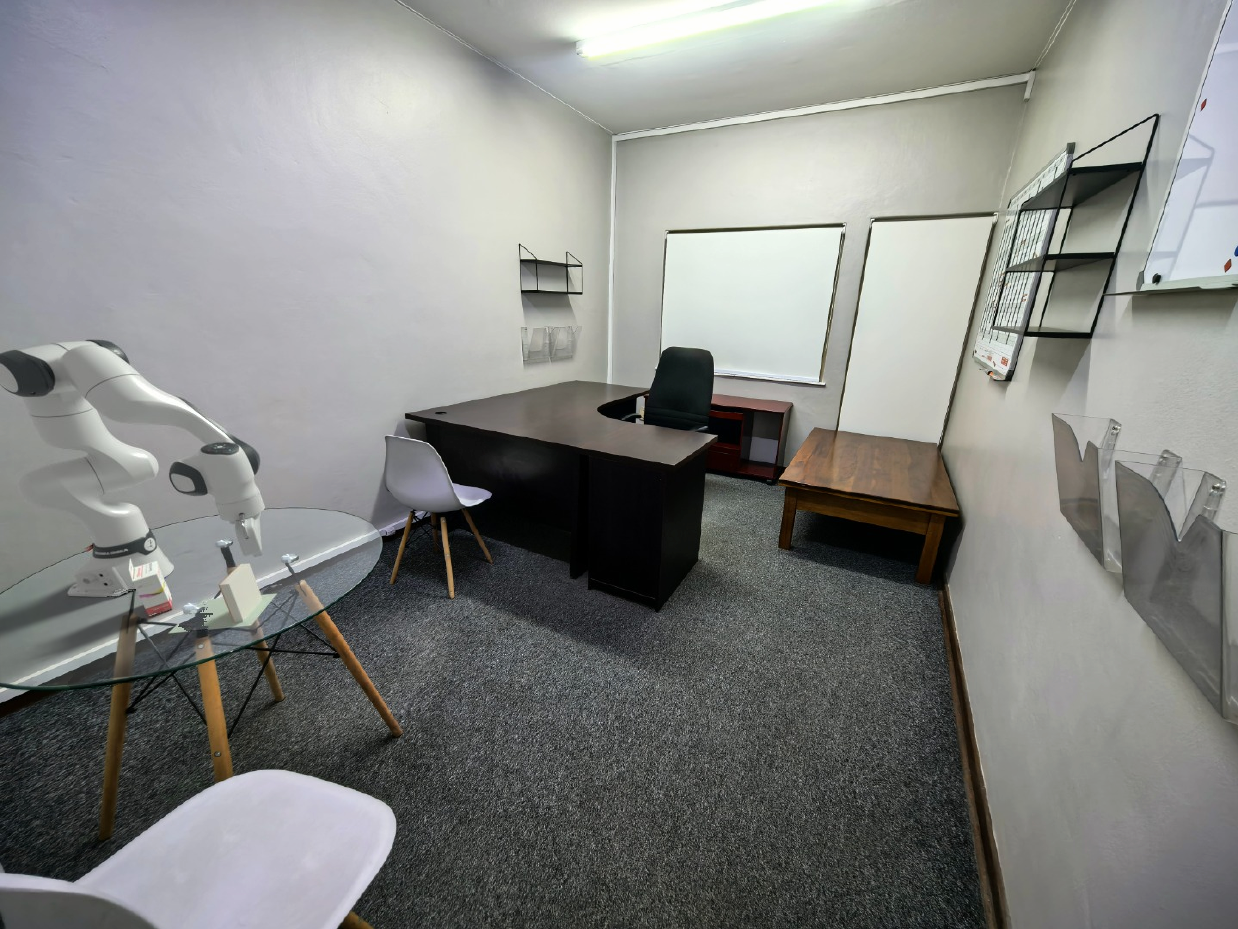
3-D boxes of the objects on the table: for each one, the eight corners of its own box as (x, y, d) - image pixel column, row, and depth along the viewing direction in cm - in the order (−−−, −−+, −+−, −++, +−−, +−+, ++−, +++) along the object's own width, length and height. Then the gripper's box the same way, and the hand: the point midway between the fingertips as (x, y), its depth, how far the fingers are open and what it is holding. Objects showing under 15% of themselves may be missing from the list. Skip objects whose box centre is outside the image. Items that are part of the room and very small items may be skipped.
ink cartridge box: (174, 609, 124) (153, 564, 118) (148, 618, 121) (126, 572, 115) (172, 594, 129) (152, 551, 124) (148, 602, 126) (127, 558, 121)
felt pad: (168, 634, 115) (168, 633, 115) (203, 601, 127) (202, 599, 127) (251, 626, 118) (250, 625, 118) (277, 594, 130) (277, 593, 130)
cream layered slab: (233, 622, 119) (218, 585, 114) (253, 599, 127) (239, 564, 123) (243, 621, 119) (228, 584, 115) (262, 599, 128) (249, 563, 123)
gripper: (258, 519, 106) (275, 568, 112) (256, 489, 121) (271, 534, 127) (223, 527, 103) (242, 577, 108) (225, 495, 118) (242, 541, 123)
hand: (258, 553), depth 117 cm, fingers closed
